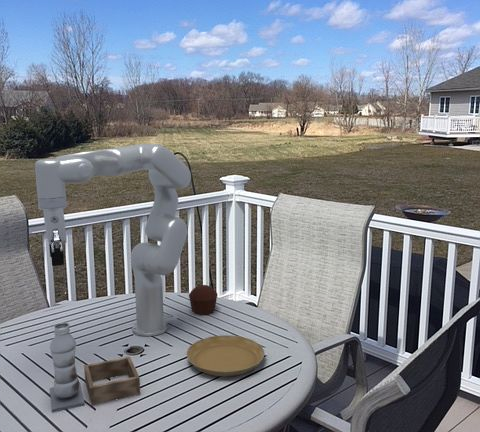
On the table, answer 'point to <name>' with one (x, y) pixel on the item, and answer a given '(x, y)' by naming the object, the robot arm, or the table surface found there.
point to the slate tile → (66, 400)
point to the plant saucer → (225, 355)
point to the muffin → (203, 300)
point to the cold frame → (114, 388)
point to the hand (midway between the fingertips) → (57, 260)
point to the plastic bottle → (64, 362)
